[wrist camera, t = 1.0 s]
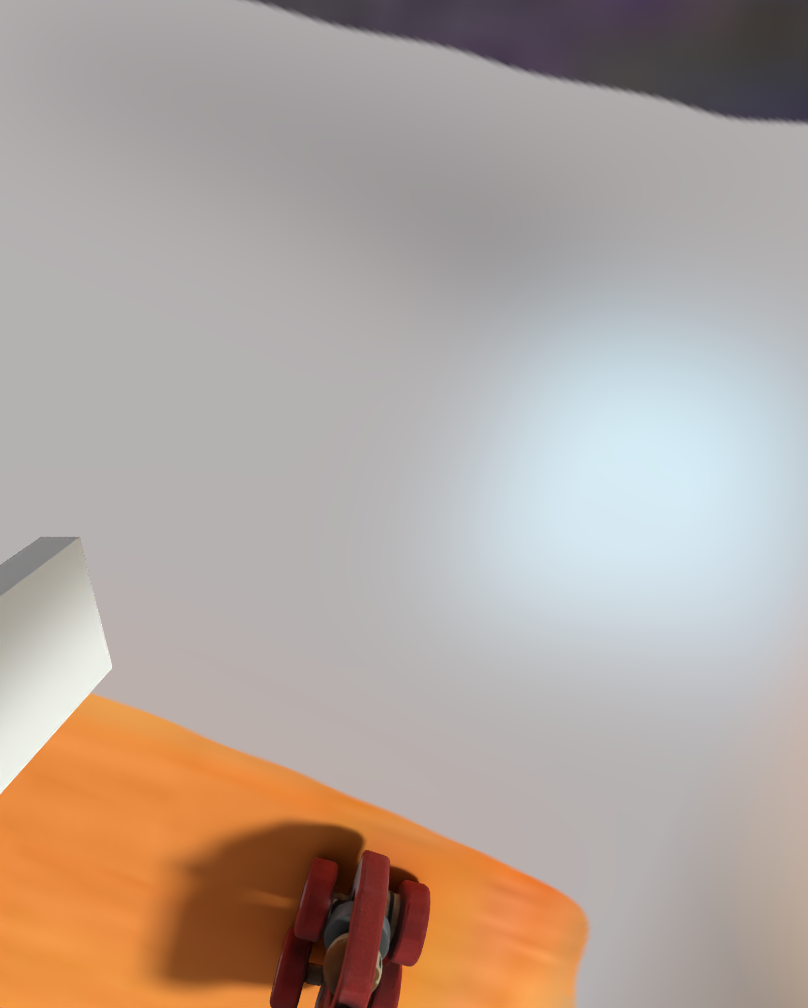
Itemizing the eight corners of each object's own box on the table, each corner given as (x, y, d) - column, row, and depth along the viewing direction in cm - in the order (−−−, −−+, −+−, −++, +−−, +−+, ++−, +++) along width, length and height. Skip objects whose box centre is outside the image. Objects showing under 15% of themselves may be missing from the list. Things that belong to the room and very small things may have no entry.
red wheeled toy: (440, 844, 42) (449, 1014, 32) (379, 1007, 45) (369, 1208, 35) (323, 813, 42) (294, 975, 32) (269, 979, 45) (228, 1175, 35)
